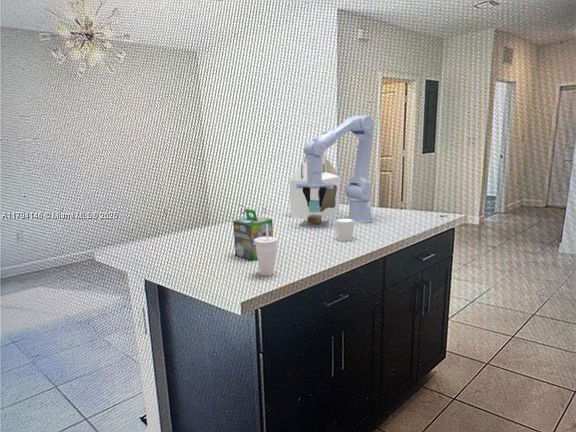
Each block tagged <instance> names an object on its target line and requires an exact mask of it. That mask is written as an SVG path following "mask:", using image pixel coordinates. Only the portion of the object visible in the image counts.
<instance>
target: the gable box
mask: <svg viewBox="0 0 576 432" xmlns="http://www.w3.org/2000/svg"><path fill="white" fill-rule="evenodd" d="M328 157H329V156H328V155H327V156H326V155H325V153H324V154H323V155H322V183H333V189H327V191H326V193H325V195H324V198H323V202H322V207H321V210H320V212H309V207H308V204H307V200H306V198H305V195H304V193H303V191H302V190H303V188H299V189H296V184H297V183H307V159H306V155H304V161H302V162H301V163H299V165H298V167H297V169H295V172H294V173H293V175H292V177H290V179H289V194H290V195H289V197H290V198H289V200H290V209H289V210H290V218H294V219H304V220H307V217H308V216H309V215H321V219H323V218H326V217H328V216H332V215H336V214H339V213H340V175H339V174H338V172H337V171H336V170H335V168H334V167H333V165H332V164H331V162H330V161H329V160H328ZM310 187H311V186H310ZM316 187H319V186H316ZM319 189H320V188H311V190H310V200H320V197H319Z"/></svg>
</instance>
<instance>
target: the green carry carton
mask: <svg viewBox="0 0 576 432" xmlns="http://www.w3.org/2000/svg"><path fill="white" fill-rule="evenodd" d="M244 211H245V215H246V217H243V218H240V219H239V218H238V219H236V220H233V221H232V223H233V224H232V225H233V236H234V237H233V240H234V252H235V253H234V255H235V256H238V257H241V258H243V259H246V260H249V261H253V262H254V261H255V260H258V258H257V252H256V245H255V244H254V239H256V238H258V237H266V224H268V237H274V229H273V225H274V224H273V219H272V218H269V217H261V216H257V213H256V211H255V210H254V209H248V208H245V210H244ZM250 214H252V216H251V215H250Z"/></svg>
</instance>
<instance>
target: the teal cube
mask: <svg viewBox="0 0 576 432" xmlns="http://www.w3.org/2000/svg"><path fill="white" fill-rule="evenodd" d="M319 201H320V200H310V201H309V212H320V210H321V207H320V206H319Z"/></svg>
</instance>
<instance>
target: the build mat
mask: <svg viewBox="0 0 576 432" xmlns="http://www.w3.org/2000/svg"><path fill="white" fill-rule="evenodd" d="M329 223H330V220H321V224H320V225H308V222H307V219H304V220H302V222H301V223H300V224H299V225H298V227H314V228H315V227H317V228H319V227H320V228H326V227H327V225H328V224H329Z"/></svg>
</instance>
